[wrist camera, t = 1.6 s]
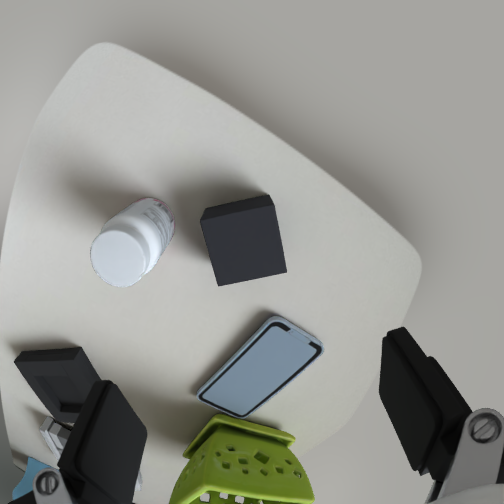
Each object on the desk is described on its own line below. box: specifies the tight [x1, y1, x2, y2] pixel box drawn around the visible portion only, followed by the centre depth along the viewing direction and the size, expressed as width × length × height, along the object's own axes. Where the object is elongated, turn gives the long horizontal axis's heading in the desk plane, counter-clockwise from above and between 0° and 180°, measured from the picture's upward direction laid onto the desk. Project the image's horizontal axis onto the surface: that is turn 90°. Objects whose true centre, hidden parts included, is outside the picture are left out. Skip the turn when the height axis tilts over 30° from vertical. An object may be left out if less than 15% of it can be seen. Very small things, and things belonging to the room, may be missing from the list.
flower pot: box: [169, 414, 315, 504], centre depth 31 cm, size 14×14×13 cm
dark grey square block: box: [200, 195, 287, 286], centre depth 25 cm, size 6×6×4 cm
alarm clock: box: [39, 416, 142, 491], centre depth 38 cm, size 17×5×16 cm
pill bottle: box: [90, 198, 175, 287], centre depth 22 cm, size 5×5×8 cm
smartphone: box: [197, 316, 324, 418], centre depth 32 cm, size 7×1×15 cm
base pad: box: [14, 347, 101, 423], centre depth 32 cm, size 12×12×2 cm
